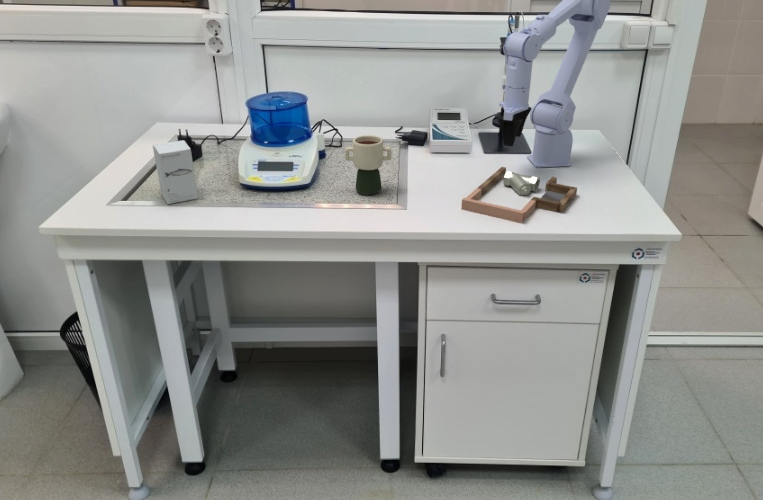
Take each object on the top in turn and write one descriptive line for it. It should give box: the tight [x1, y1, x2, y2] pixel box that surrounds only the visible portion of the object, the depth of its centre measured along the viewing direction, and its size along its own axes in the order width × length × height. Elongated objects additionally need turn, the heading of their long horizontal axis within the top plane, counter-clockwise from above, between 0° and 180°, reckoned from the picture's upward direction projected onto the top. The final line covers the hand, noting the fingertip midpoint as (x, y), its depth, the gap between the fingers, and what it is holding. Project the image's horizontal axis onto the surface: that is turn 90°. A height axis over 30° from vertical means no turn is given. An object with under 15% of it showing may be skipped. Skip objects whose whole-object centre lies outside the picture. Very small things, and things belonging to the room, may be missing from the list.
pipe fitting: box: [502, 170, 541, 196], centre depth 153 cm, size 8×4×7 cm
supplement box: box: [152, 140, 199, 205], centre depth 148 cm, size 7×7×13 cm
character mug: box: [344, 134, 392, 195], centre depth 150 cm, size 11×7×13 cm, turn 90°
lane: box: [477, 166, 578, 214], centre depth 152 cm, size 16×20×2 cm
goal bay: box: [460, 187, 536, 224], centre depth 144 cm, size 9×14×2 cm, turn 59°
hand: (512, 140), depth 157 cm, fingers open, 7 cm apart
